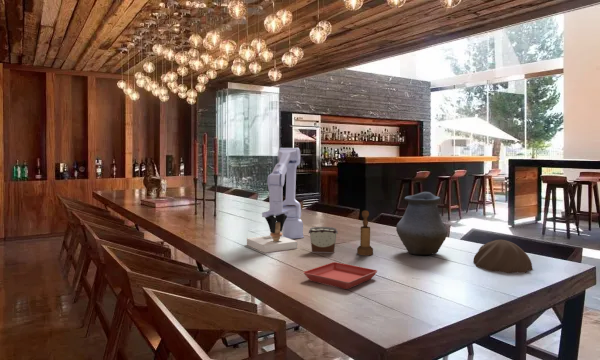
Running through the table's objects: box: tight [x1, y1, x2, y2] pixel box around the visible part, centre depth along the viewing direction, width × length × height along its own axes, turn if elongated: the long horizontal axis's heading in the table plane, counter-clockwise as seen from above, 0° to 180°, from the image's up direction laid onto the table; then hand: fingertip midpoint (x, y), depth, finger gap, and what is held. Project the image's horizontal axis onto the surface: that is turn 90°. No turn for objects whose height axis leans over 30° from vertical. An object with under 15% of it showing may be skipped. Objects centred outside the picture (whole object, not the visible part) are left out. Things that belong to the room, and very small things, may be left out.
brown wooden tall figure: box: [356, 209, 374, 256], centre depth 176 cm, size 7×6×18 cm
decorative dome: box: [473, 239, 533, 274], centre depth 158 cm, size 19×20×10 cm
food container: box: [308, 226, 339, 254], centre depth 182 cm, size 12×6×10 cm, turn 84°
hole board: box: [246, 235, 298, 253], centre depth 191 cm, size 16×18×3 cm
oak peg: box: [269, 221, 283, 242], centre depth 186 cm, size 5×5×8 cm
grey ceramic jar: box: [395, 191, 448, 256], centre depth 178 cm, size 21×22×25 cm
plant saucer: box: [303, 261, 378, 290], centre depth 141 cm, size 18×18×3 cm
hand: (276, 232), depth 186 cm, fingers closed on oak peg, 4 cm apart
